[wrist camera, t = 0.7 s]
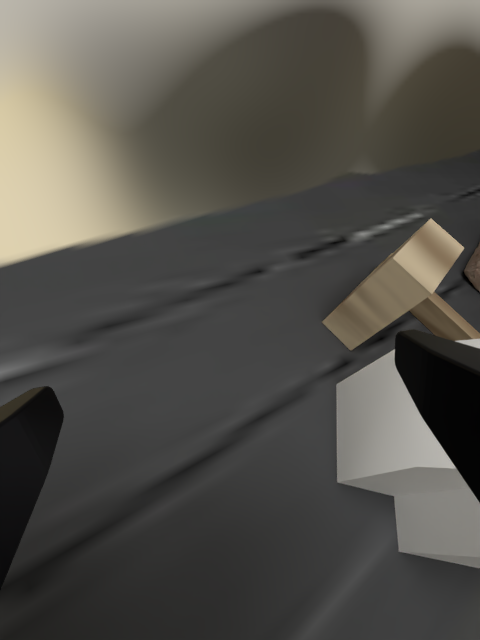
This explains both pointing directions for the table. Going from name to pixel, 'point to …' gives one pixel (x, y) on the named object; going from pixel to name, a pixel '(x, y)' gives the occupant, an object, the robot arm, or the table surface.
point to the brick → (474, 268)
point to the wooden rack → (404, 292)
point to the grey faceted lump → (405, 464)
